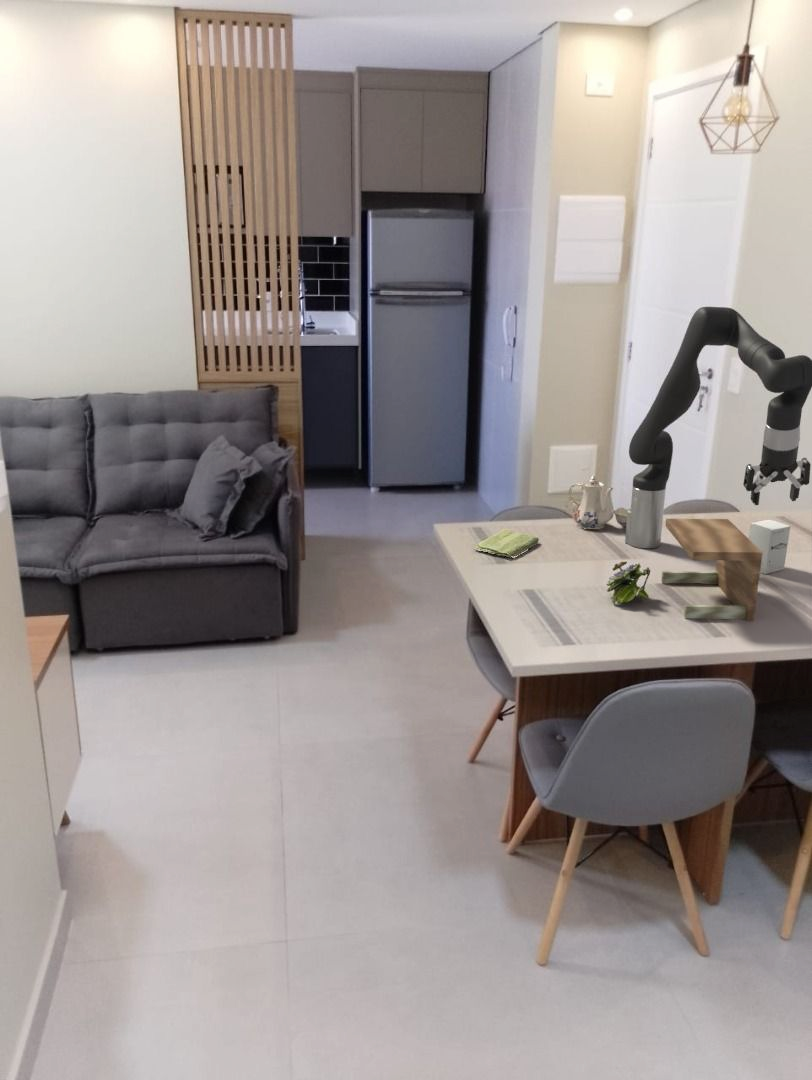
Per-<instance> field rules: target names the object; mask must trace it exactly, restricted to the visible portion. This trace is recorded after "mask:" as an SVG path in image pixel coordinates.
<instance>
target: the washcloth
mask: <svg viewBox="0 0 812 1080" xmlns="http://www.w3.org/2000/svg"><path fill="white" fill-rule="evenodd" d="M539 541H540V538H539V537H538V536H534V535H532V534H526V533H521V532H517V531H515V530H512V529H511V530H510V529H508V528H503V529H501V530H500V531H499V532H496V533H495V534H493V535H491V536H490V537H487V538H486V539H484V540H481V541H480V542H479V543H478V544H477V545H475V547H474V548H477V549H480V550H484V551H487V552H491V553H495V554H499V555H498V556H501V555H502V556H501V557H504V556H506V557H505V558H509V557H511V556H513V557H514V556H517V555H519V554H521V553H522V552H524V551H526V550H527V549H529V548H531V547H532V546H533V547H535V546H536V545H535V544H537V545H538V543H539ZM534 545H535V546H534ZM533 547H532V548H533ZM532 548H531V549H532ZM529 550H530V549H529ZM526 552H527V551H526ZM521 555H522V554H521ZM519 556H520V555H519Z"/></svg>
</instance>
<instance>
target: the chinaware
mask: <svg viewBox="0 0 812 1080" xmlns="http://www.w3.org/2000/svg"><path fill="white" fill-rule="evenodd" d="M575 486H576V487H577V486H580V487H579V490H580V491H583V494H582V495H578V496H576V497H574V496H573V495H572V490H573V488H574V487H575ZM604 486H605V484H604V483H603V482H600V481H599V480H598V479H597V477H596V476H595V475H593V474H592V477H590V478H589V479H588V480H587V481H584V482H582V483H578V482H577V483H574V484H572V485H571V486H570V487H569V490H568V495H569V498H568V499H567V500H566V502H565V507H566V509H568V510H572V513H573V516H572V518H573V520H574V522H575V523H576V526H577V525H578V526H579V527H582V528H586V529H585V530H587V529H598V530H602V529H604V528H605V525H606V524H607V523H608V522H610V521H611V520H612V519H613V517H614V516H615V520H616V522H617V524H618V526H619V525H620V526H621V527H620V529H623V530H626V524H627V513H628V511H630V510H631V508H625V507H618V508H617V509H615V508H614V505H613V501H612V494H611V493H612V492H613V490H614V487H610V488H608V489H606V492H605V506H604V503H603V498H602V492H603V488H604ZM568 502H569V503H570V508H569V507H568ZM578 526H577V527H578ZM579 527H578V528H579ZM582 528H581V529H582Z"/></svg>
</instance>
